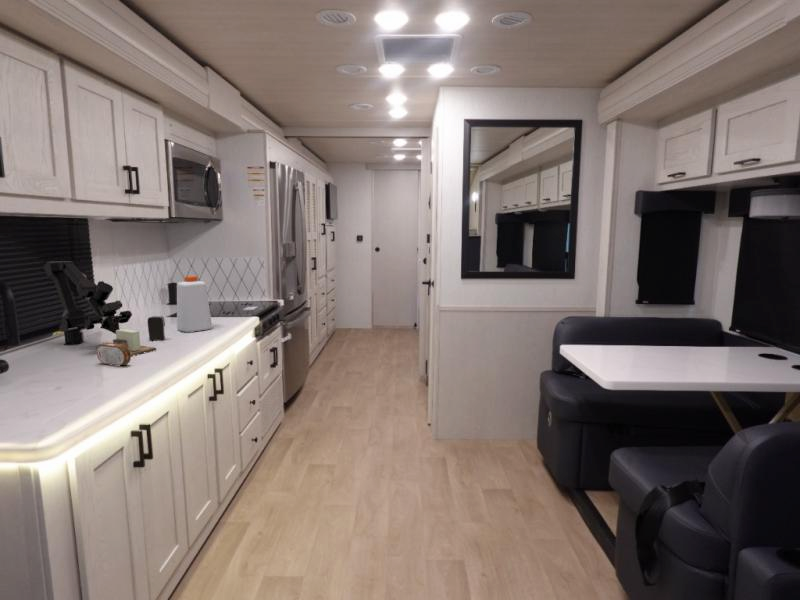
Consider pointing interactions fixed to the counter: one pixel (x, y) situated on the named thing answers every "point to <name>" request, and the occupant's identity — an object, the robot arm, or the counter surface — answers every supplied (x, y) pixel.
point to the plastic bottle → (192, 306)
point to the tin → (113, 354)
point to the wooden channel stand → (143, 349)
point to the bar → (129, 338)
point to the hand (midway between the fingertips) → (119, 334)
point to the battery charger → (156, 328)
